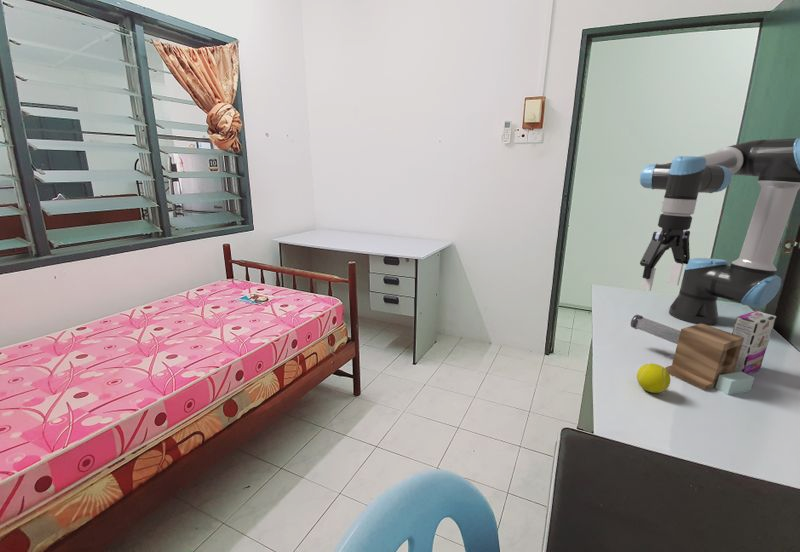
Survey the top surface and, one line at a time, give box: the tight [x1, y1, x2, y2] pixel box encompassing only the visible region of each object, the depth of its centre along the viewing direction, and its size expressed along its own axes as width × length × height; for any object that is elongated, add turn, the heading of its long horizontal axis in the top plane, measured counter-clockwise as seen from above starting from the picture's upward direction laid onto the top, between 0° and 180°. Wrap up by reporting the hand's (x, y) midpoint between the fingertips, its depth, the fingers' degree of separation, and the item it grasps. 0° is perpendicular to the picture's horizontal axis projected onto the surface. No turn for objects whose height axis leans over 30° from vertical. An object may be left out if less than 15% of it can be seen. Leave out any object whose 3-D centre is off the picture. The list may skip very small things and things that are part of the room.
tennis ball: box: [636, 362, 671, 394], centre depth 96 cm, size 7×7×7 cm
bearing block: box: [664, 323, 744, 391], centre depth 104 cm, size 16×10×12 cm, turn 117°
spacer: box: [715, 372, 755, 396], centre depth 99 cm, size 8×4×3 cm
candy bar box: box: [732, 310, 777, 375], centre depth 107 cm, size 11×5×16 cm, turn 117°
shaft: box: [630, 314, 681, 345], centre depth 112 cm, size 4×21×4 cm, turn 27°
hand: (659, 286), depth 113 cm, fingers open, 13 cm apart
